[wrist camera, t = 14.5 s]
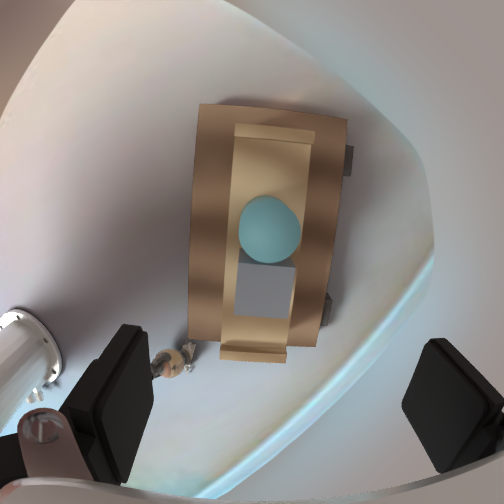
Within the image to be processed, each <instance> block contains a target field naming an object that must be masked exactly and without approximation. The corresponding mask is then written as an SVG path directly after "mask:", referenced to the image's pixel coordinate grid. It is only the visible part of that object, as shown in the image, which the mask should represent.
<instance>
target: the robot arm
mask: <svg viewBox="0 0 504 504" xmlns="http://www.w3.org/2000/svg"><path fill="white" fill-rule="evenodd" d="M61 368H62V359H61V355H60V351H59V349H58V346H57V344H56V342H55V340H54V339H53V337H52V335H51V334H50V333H49V331H48V330H47V329H46V327H45V326H44V325H43V324H42V323H41V322H40V321H39V320H38V319H36V318H35V317H34V316H32V315H31V314H29V313H27V312H25V311H22V310H19V309H13V310H9V311H8V312H6V313H5V314H4V315H3V316H2V317H1V319H0V433H1V432H2V430H3V429H4V428H5V426H6V425H7V424H8V422H9V421H10V420H11V418H12V417H13V416H14V414H15V413H16V412H17V410H18V409H19V408H20V407H21V405H22V404H23V403H24V401H25V400H26V401H27V402H28V403H34V402H35V401H36V398H37V400H38V401H43V400H44V396H43V393H42V391H41V387H42V386H43V385H44V383H50V382H53V381H54V380H55V379H56V378H57V377H58V376H59V374H60V372H61ZM34 392H35V395H36V397H35V395H34ZM153 401H154V395H153V387H152V377H151V368H150V357H149V345H148V334H147V332H145V331H142V328H141V326H135V325H128V324H123V325H122V326H121V327H120V329H119V330H118V332H117V333H116V334H115V336H114V337H113V339H112V340H111V341H110V343H109V344H108V346H107V347H106V348H105V350H104V351H103V353H102V354H101V356H100V357H99V358H98V359H95V360H93V361H92V362H91V364H90V365H89V366H88V368H87V369H86V371H85V372H84V374H83V375H82V376H81V378H80V379H79V381H78V382H77V384H76V385H75V387H74V388H73V390H72V391H71V392H70V394H69V395H68V397H67V398H66V400H65V401H64V403H63V404H62V406H61V407H60V409H59V410H58V411H57V410H54V409H51V408H37V409H34V410H31V411H29V412H27V413H26V414H24V415H23V416H22V418H21V419H20V420H19V423H18V425H17V433H14V434H10V435H6V436H2V437H0V504H504V413H503V412H502V411H501V410H502V408H503V407H504V398H503V397H502V396H501V394H500V393H498V391H497V390H496V389H495V388H494V387H493V386H492V385H491V384H490V383H489V382H488V381H487V380H486V379H485V377H484V376H483V375H482V374H481V373H480V372H479V371H478V370H477V369H476V368H475V367H474V366H473V365H472V364H471V363H470V362H469V361H468V360H467V359H466V358H465V357H464V356H463V355H462V354H461V353H460V352H459V351H458V350H457V349H456V348H455V347H454V346H453V345H452V344H451V343H450V342H449V341H448V340H447V339H445V338H434V339H430V340H429V341H428V343H426V344H425V346H424V348H423V350H422V353H421V356H420V359H419V361H418V364H417V366H416V369H415V372H414V374H413V377H412V379H411V381H410V384H409V386H408V389H407V391H406V393H405V396H404V398H403V400H402V410H403V412H404V413H405V415H406V417H407V418H408V420H409V422H410V424H411V425H412V427H413V429H414V431H415V432H416V434H417V436H418V438H419V440H420V441H421V443H422V445H423V446H424V449H425V450H426V452H427V454H428V456H429V458H430V460H431V462H432V463H433V465H434V467H435V469H436V471H437V472H438V473H441V474H439V475H436V476H433V477H430V478H426V479H423V480H419V481H415V482H412V483H408V484H404V485H400V486H395V487H391V488H387V489H382V490H377V491H371V492H366V493H360V494H354V495H347V496H340V497H332V498H322V499H311V500H296V501H270V502H269V501H268V502H266V501H265V502H264V501H262V502H261V501H260V502H259V501H227V500H214V499H202V498H192V497H183V496H176V495H168V494H162V493H156V492H150V491H145V490H139V489H133V488H128V487H122V486H120V485H121V483H127V481H128V478H129V475H130V472H131V469H132V466H133V463H134V460H135V456H136V453H137V450H138V447H139V444H140V441H141V438H142V435H143V432H144V430H145V427H146V424H147V421H148V418H149V415H150V412H151V409H152V406H153Z"/></svg>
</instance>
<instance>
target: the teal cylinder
mask: <svg viewBox="0 0 504 504" xmlns="http://www.w3.org/2000/svg"><path fill="white" fill-rule="evenodd" d="M300 237H301V228H300V223H299V221H298V219H297V217H296V215H295V214H294V213H293V211H292V210H291V209H289V208H288V207H287V206H286V205H285V204H284V203H283V202H282V201H281V200H279V199H278V198H276V197H273V196H268V195H263V196H258V197H255V198H253V199H252V200H250V201H249V202H248V203H247V204H246V205H245V206H244V208H243V210H242V212H241V216H240V224H239V240H240V244H241V246H242V248H243V249H244V251H245V252H246V253H247V254H248V255H249V256H250V257H251V258H253V259H255V260H257V261H259V262H263V263H275V262H279V261H282V260H284V259H286V258H287V257H289V256H290V255H291V254H292V253H293V252H294V251H295V249H296V248H297V246H298V244H299V241H300Z"/></svg>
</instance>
